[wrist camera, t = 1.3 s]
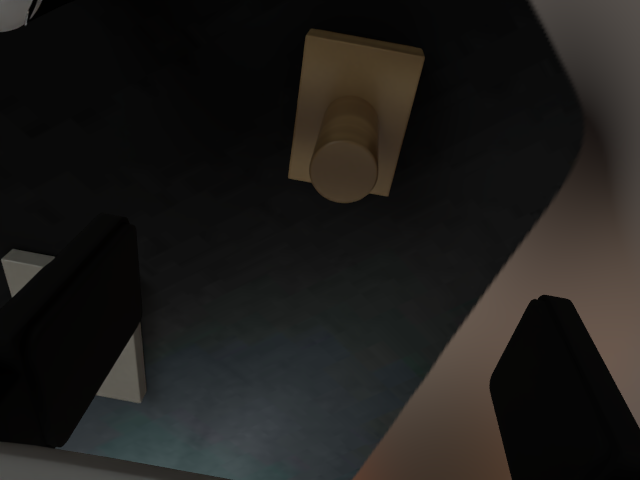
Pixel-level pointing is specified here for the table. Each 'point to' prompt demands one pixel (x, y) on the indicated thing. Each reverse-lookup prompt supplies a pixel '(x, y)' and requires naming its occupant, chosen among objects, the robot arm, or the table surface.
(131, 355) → the tile
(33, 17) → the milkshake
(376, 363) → the table surface
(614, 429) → the robot arm
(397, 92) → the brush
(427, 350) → the table surface
